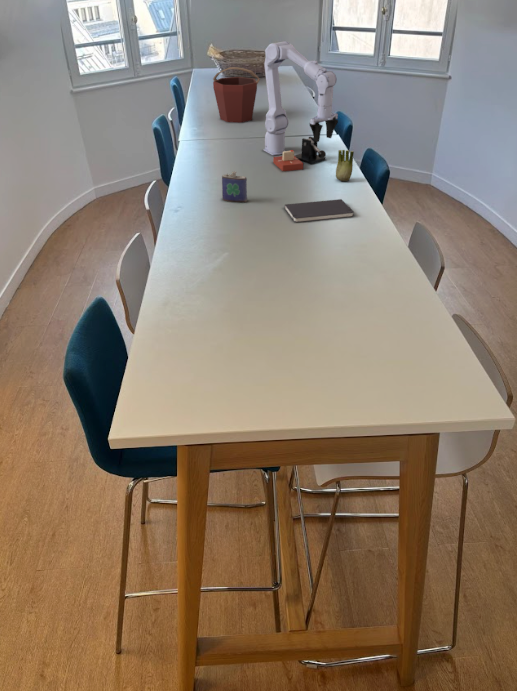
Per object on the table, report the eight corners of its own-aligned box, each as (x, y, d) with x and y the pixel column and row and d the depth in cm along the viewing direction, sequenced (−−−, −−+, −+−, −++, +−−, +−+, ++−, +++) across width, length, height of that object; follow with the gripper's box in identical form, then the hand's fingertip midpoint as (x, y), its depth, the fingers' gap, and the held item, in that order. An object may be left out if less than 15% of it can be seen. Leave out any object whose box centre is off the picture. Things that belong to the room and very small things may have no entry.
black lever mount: (325, 160, 248) (326, 139, 242) (311, 164, 243) (312, 143, 238) (306, 154, 254) (307, 134, 249) (292, 158, 249) (293, 138, 244)
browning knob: (283, 161, 239) (283, 151, 236) (282, 159, 240) (282, 150, 238) (293, 159, 240) (294, 150, 238) (292, 158, 241) (293, 149, 239)
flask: (247, 200, 209) (247, 171, 203) (245, 203, 207) (244, 174, 201) (223, 198, 211) (222, 169, 205) (221, 200, 209) (219, 171, 203)
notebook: (341, 203, 207) (284, 208, 203) (341, 199, 206) (284, 204, 202) (354, 216, 197) (294, 222, 193) (354, 212, 196) (294, 218, 192)
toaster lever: (325, 158, 243) (328, 152, 241) (320, 160, 242) (323, 154, 239) (308, 143, 247) (311, 137, 244) (303, 144, 245) (306, 138, 243)
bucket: (266, 117, 308) (267, 66, 293) (244, 126, 293) (243, 73, 278) (229, 111, 319) (227, 62, 304) (205, 120, 303) (202, 68, 289)
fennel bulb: (352, 180, 226) (355, 150, 219) (345, 184, 223) (347, 152, 216) (340, 177, 229) (343, 147, 222) (333, 180, 226) (335, 149, 219)
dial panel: (273, 162, 245) (273, 156, 243) (293, 160, 247) (293, 154, 245) (282, 171, 235) (282, 165, 234) (303, 169, 238) (303, 162, 236)
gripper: (320, 109, 224) (318, 144, 232) (344, 103, 232) (341, 138, 240) (307, 106, 228) (305, 141, 236) (331, 100, 236) (328, 134, 244)
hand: (322, 139), depth 238 cm, fingers open, 7 cm apart
